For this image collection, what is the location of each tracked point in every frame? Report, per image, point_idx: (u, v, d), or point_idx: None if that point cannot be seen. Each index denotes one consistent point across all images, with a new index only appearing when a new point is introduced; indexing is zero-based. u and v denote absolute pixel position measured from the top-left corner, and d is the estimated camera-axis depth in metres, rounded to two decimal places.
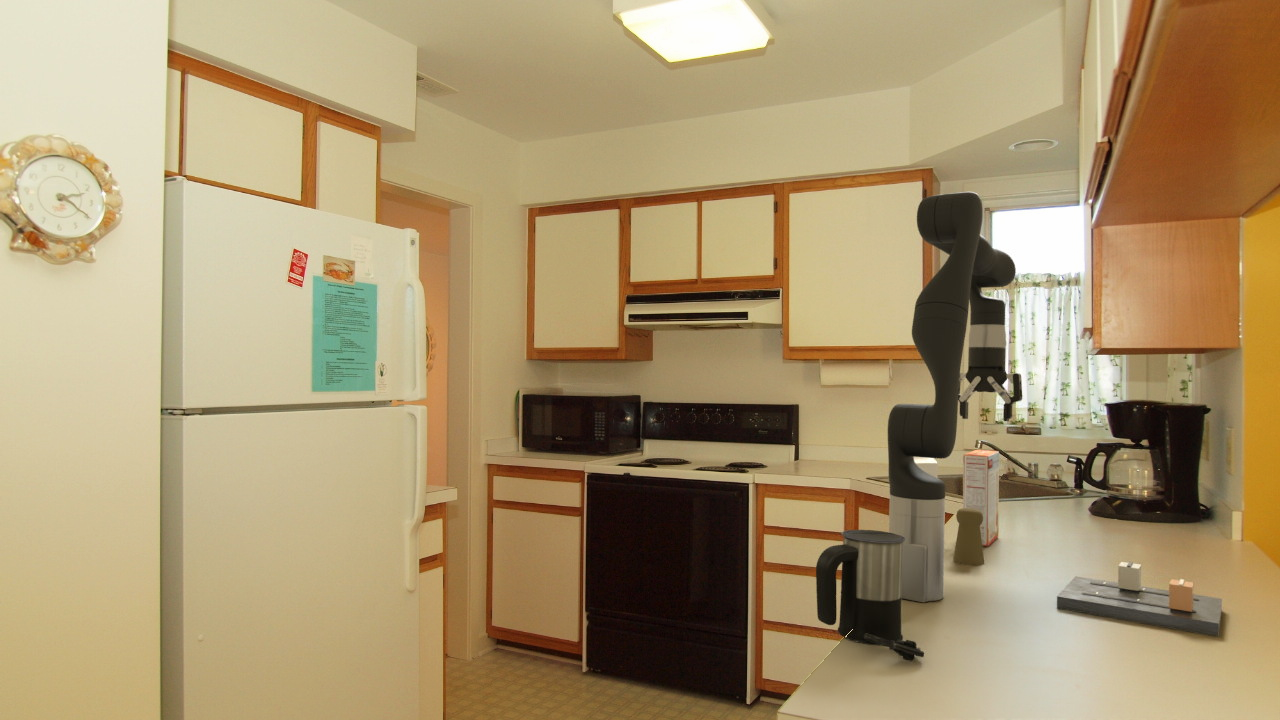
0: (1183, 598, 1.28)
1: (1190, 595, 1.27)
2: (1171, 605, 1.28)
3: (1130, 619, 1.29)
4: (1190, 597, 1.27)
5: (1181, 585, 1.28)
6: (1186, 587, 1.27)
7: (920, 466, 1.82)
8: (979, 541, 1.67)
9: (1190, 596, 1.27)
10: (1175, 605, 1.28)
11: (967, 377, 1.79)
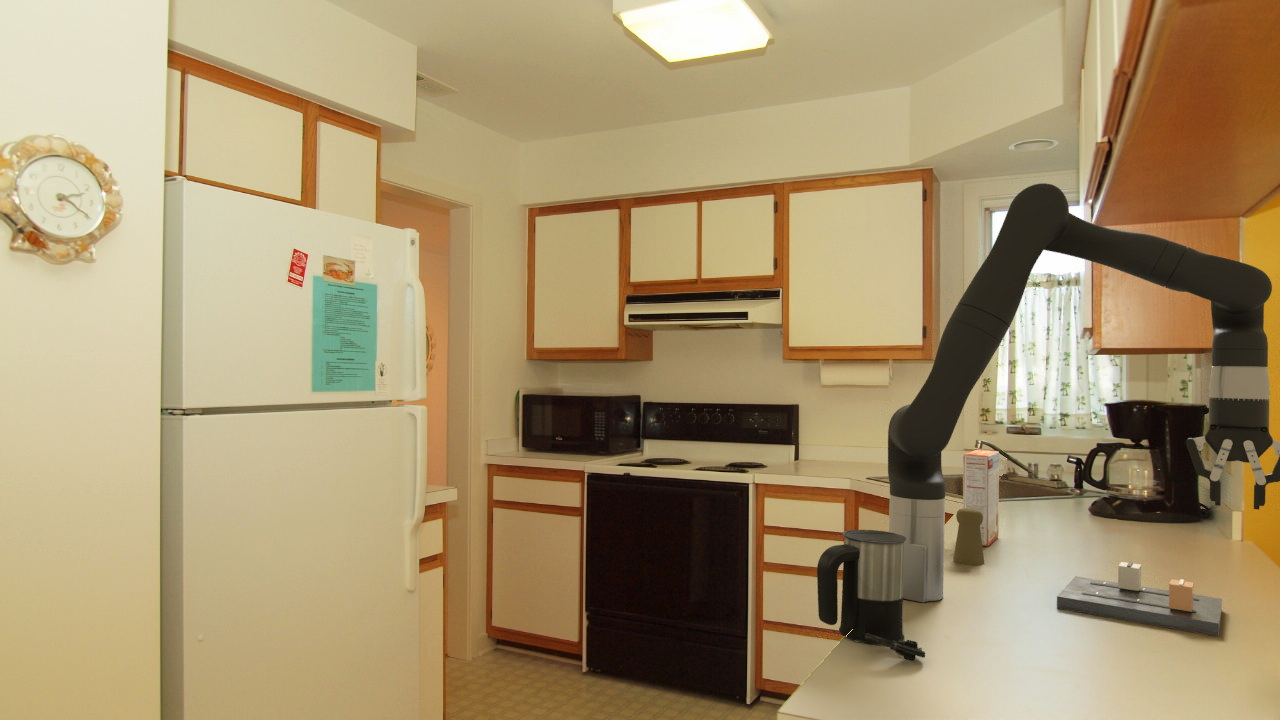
0: (1183, 598, 1.28)
1: (1190, 595, 1.27)
2: (1171, 605, 1.28)
3: (1130, 619, 1.29)
4: (1190, 597, 1.27)
5: (1181, 585, 1.28)
6: (1186, 587, 1.27)
7: None
8: (979, 541, 1.67)
9: (1190, 596, 1.27)
10: (1175, 605, 1.28)
11: (1210, 441, 1.27)
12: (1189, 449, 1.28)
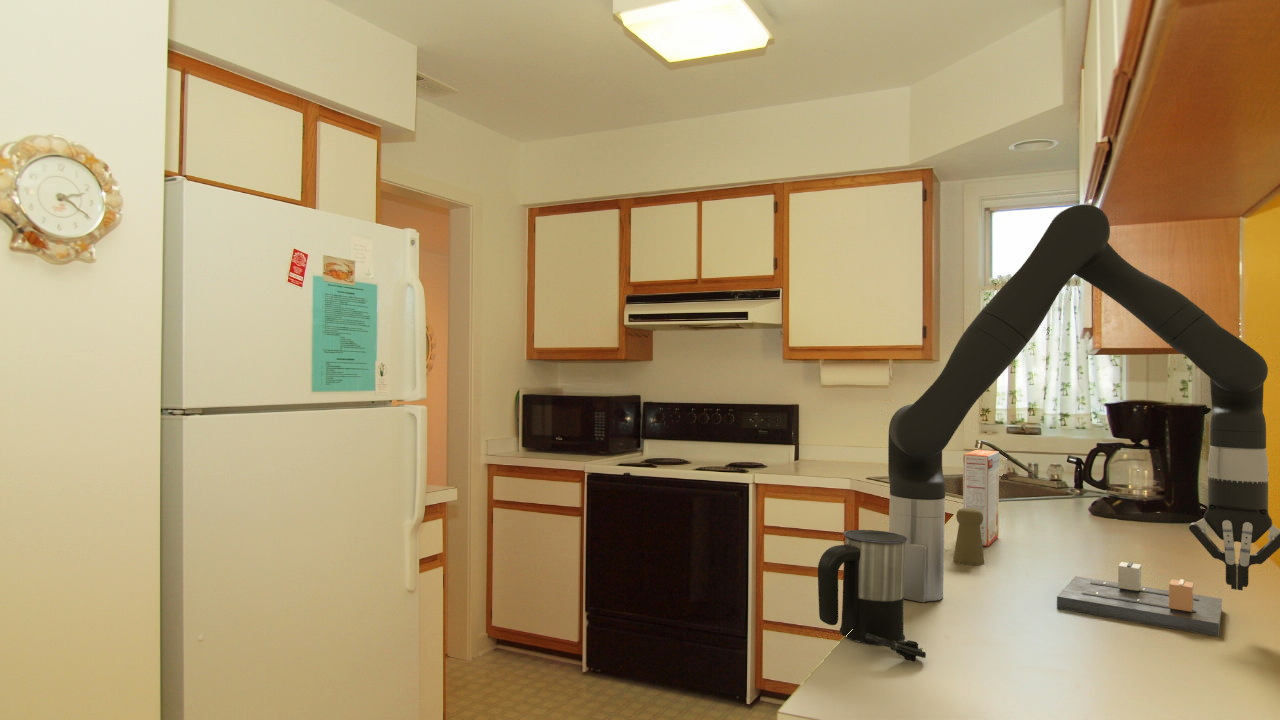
0: (1183, 598, 1.28)
1: (1190, 595, 1.27)
2: (1171, 605, 1.28)
3: (1130, 619, 1.29)
4: (1190, 597, 1.27)
5: (1181, 585, 1.28)
6: (1186, 587, 1.27)
7: None
8: (979, 541, 1.67)
9: (1190, 596, 1.27)
10: (1175, 605, 1.28)
11: (1211, 522, 1.27)
12: (1195, 535, 1.28)
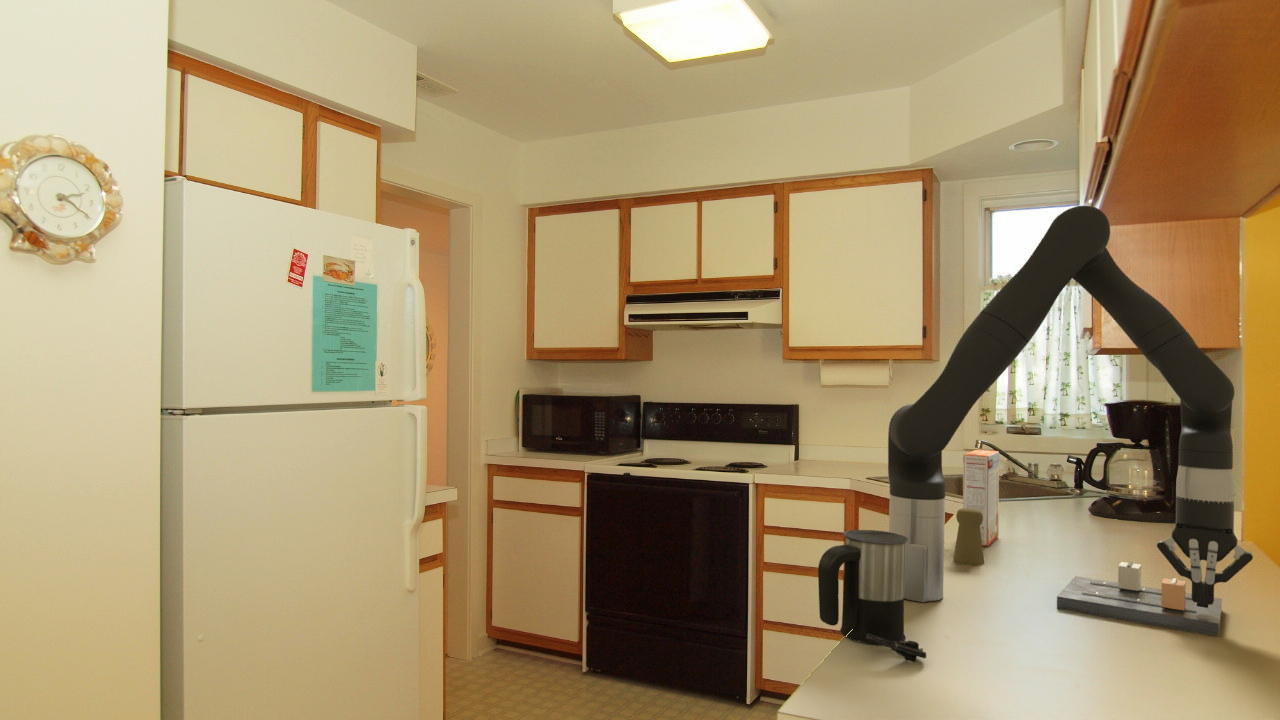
0: (1175, 596, 1.28)
1: (1182, 594, 1.28)
2: (1163, 604, 1.29)
3: (1130, 619, 1.29)
4: (1182, 596, 1.28)
5: (1173, 584, 1.28)
6: (1178, 586, 1.28)
7: None
8: (979, 541, 1.67)
9: (1182, 595, 1.28)
10: (1167, 604, 1.29)
11: (1178, 540, 1.29)
12: (1163, 553, 1.30)
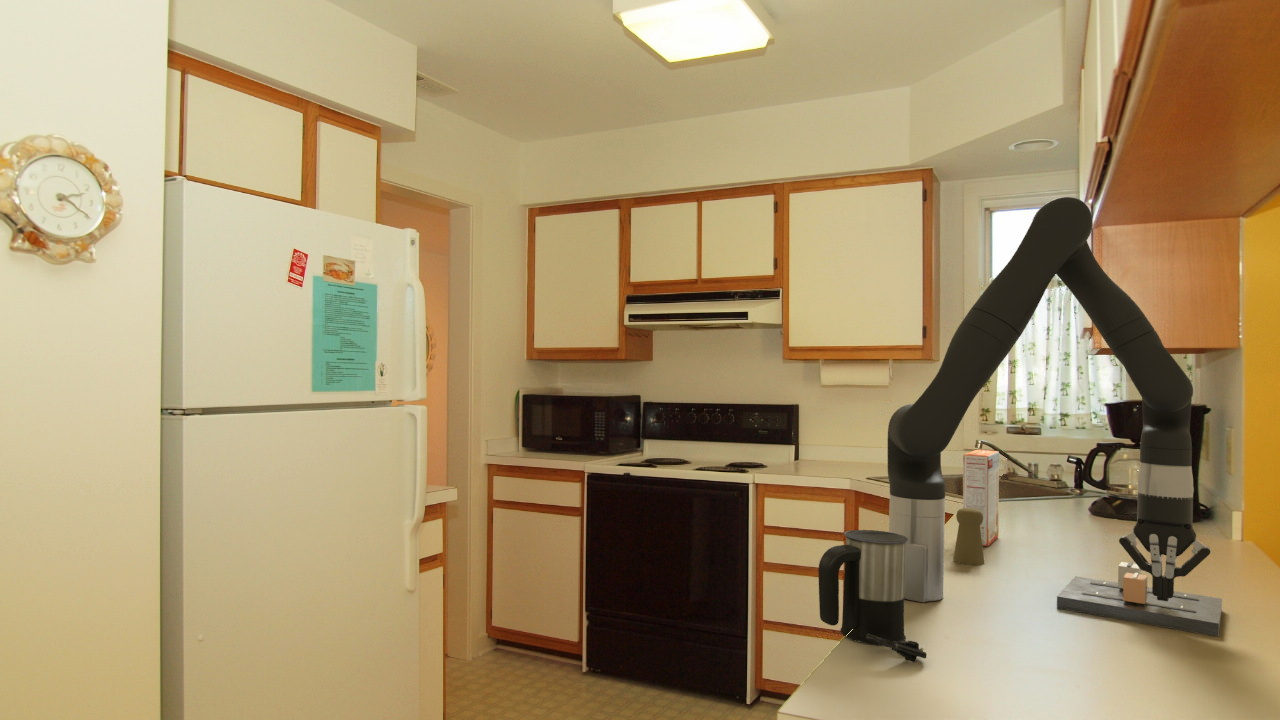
0: (1136, 590, 1.31)
1: (1143, 588, 1.31)
2: (1125, 598, 1.32)
3: (1130, 619, 1.29)
4: (1143, 590, 1.31)
5: (1134, 578, 1.31)
6: (1139, 580, 1.31)
7: None
8: (979, 541, 1.67)
9: (1143, 589, 1.31)
10: (1129, 598, 1.32)
11: (1139, 535, 1.32)
12: (1125, 548, 1.33)
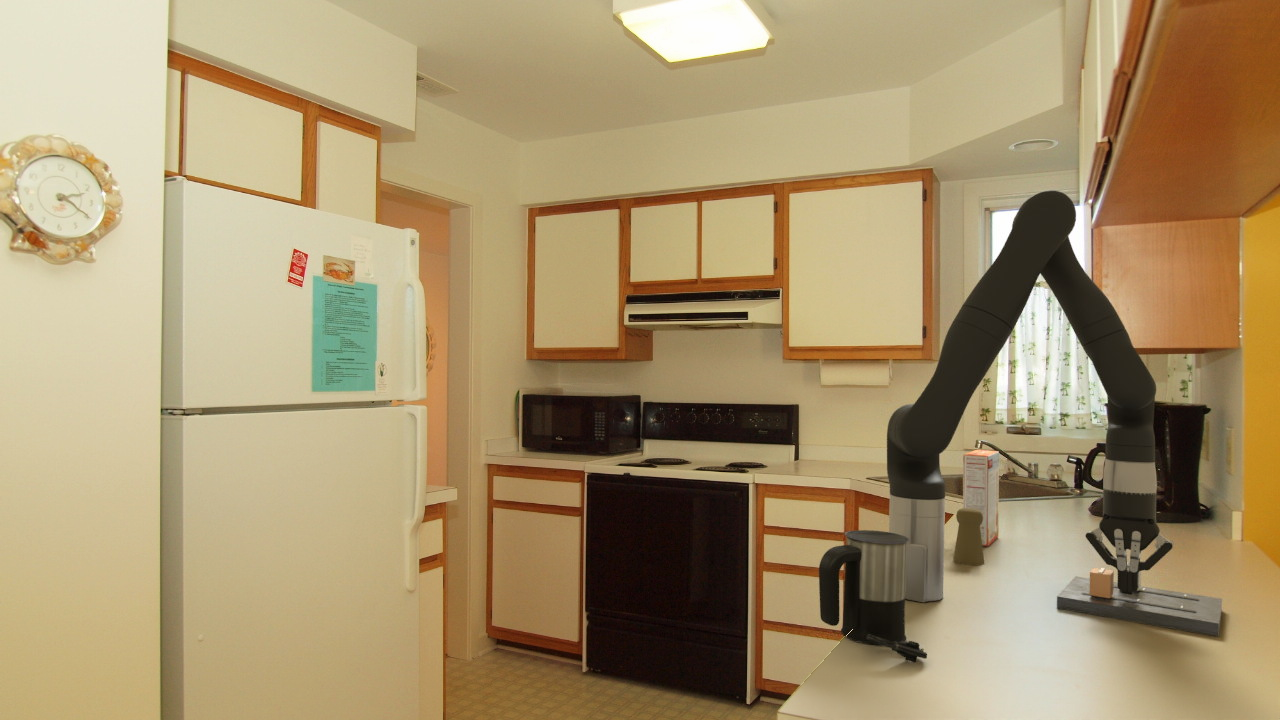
0: (1102, 585, 1.34)
1: (1108, 583, 1.34)
2: (1091, 592, 1.35)
3: (1130, 619, 1.29)
4: (1108, 584, 1.34)
5: (1100, 573, 1.34)
6: (1105, 575, 1.34)
7: None
8: (979, 541, 1.67)
9: (1108, 583, 1.34)
10: (1095, 592, 1.35)
11: (1105, 530, 1.35)
12: (1091, 542, 1.36)
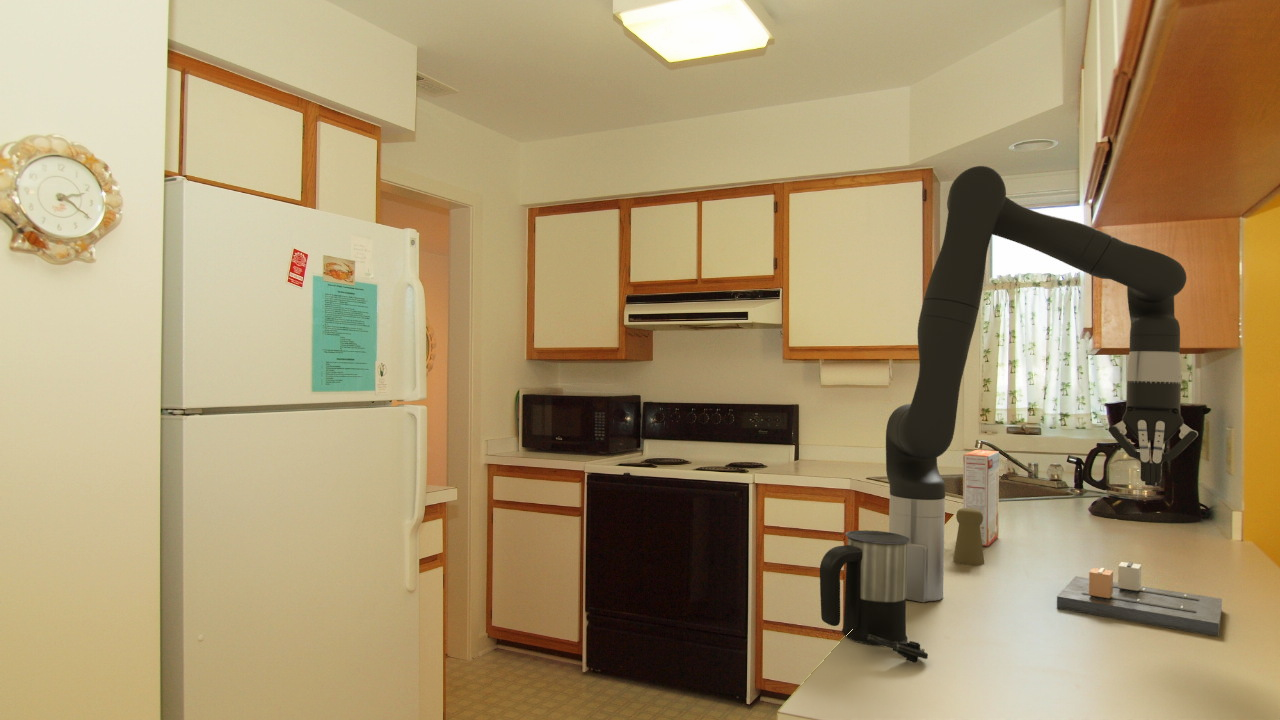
0: (1101, 585, 1.34)
1: (1108, 583, 1.34)
2: (1091, 592, 1.35)
3: (1130, 619, 1.29)
4: (1108, 584, 1.34)
5: (1100, 573, 1.34)
6: (1104, 575, 1.34)
7: None
8: (979, 541, 1.67)
9: (1108, 583, 1.34)
10: (1094, 592, 1.35)
11: (1128, 423, 1.35)
12: (1114, 436, 1.36)
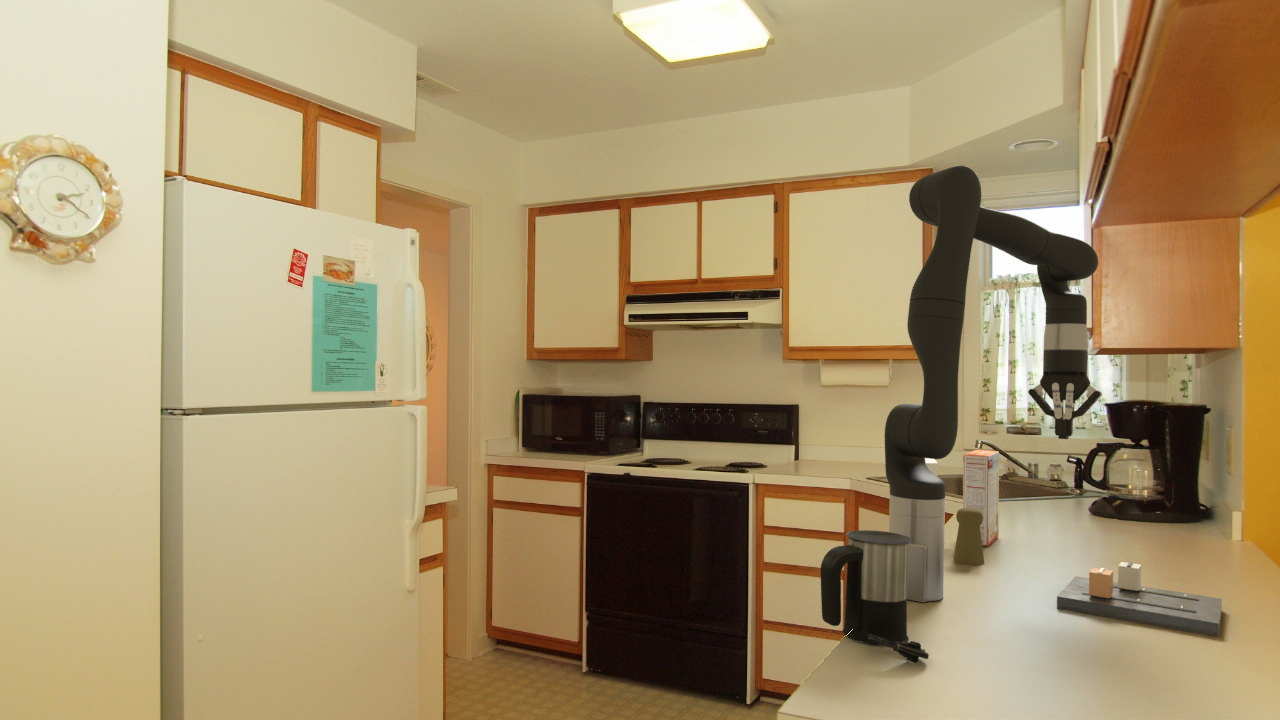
0: (1101, 585, 1.34)
1: (1108, 583, 1.34)
2: (1091, 592, 1.35)
3: (1130, 619, 1.29)
4: (1108, 584, 1.34)
5: (1100, 573, 1.34)
6: (1104, 575, 1.34)
7: None
8: (979, 541, 1.67)
9: (1108, 583, 1.34)
10: (1094, 592, 1.35)
11: (1044, 385, 1.57)
12: (1033, 397, 1.58)
